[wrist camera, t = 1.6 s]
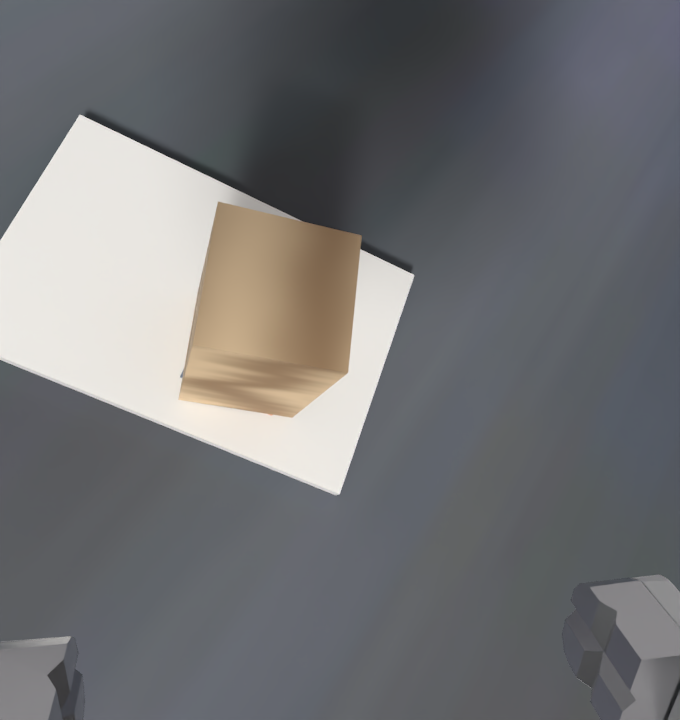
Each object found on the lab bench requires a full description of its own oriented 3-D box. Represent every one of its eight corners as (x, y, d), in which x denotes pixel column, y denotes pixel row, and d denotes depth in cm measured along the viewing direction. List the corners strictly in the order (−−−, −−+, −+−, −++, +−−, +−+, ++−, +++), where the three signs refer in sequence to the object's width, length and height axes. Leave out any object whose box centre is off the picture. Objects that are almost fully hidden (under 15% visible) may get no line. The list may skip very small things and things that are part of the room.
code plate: (-54, 338, 31) (-59, 332, 30) (81, 123, 36) (79, 113, 35) (335, 495, 34) (340, 494, 34) (409, 280, 39) (415, 274, 38)
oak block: (178, 399, 32) (192, 344, 23) (197, 292, 34) (218, 201, 25) (292, 417, 34) (348, 372, 25) (305, 313, 36) (361, 235, 26)
